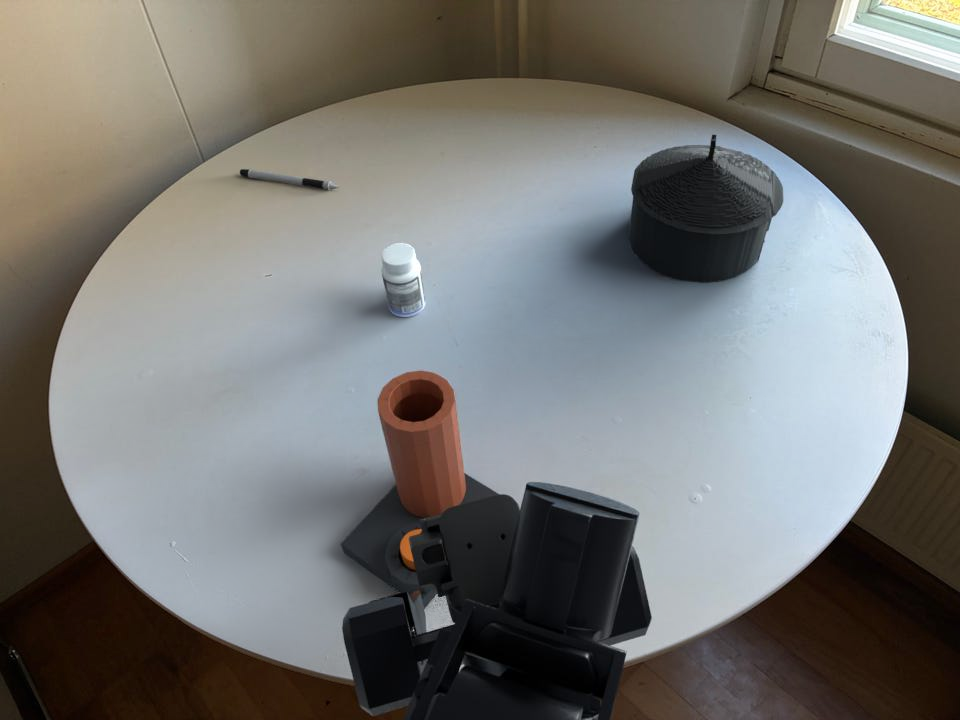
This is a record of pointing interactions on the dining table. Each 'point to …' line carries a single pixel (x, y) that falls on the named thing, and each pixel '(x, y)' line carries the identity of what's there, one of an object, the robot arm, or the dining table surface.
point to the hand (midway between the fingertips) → (479, 580)
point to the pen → (287, 179)
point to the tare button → (408, 549)
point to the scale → (396, 540)
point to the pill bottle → (403, 280)
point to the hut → (702, 211)
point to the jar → (423, 441)
